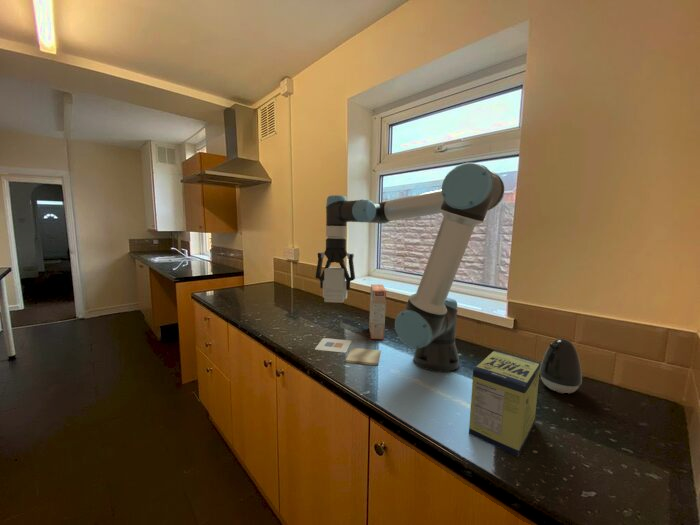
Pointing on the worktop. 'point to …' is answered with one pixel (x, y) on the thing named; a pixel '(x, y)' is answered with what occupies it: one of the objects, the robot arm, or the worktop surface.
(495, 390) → the protein box
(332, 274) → the supplement box
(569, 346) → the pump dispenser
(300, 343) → the worktop surface
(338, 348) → the tile
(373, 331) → the cracker box
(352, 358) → the oak coaster
